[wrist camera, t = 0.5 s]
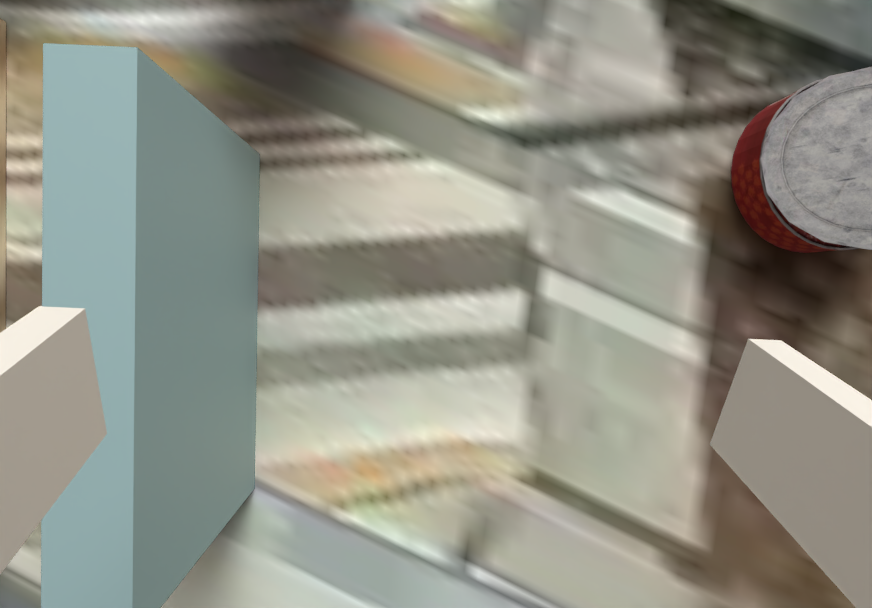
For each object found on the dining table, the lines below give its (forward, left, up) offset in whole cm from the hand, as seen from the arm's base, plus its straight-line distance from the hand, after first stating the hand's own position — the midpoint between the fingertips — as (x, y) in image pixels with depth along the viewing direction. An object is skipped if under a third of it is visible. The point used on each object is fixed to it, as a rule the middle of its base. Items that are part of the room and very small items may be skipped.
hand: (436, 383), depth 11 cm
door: (0, +11, -21) cm, 24 cm away
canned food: (+10, -24, -22) cm, 34 cm away
